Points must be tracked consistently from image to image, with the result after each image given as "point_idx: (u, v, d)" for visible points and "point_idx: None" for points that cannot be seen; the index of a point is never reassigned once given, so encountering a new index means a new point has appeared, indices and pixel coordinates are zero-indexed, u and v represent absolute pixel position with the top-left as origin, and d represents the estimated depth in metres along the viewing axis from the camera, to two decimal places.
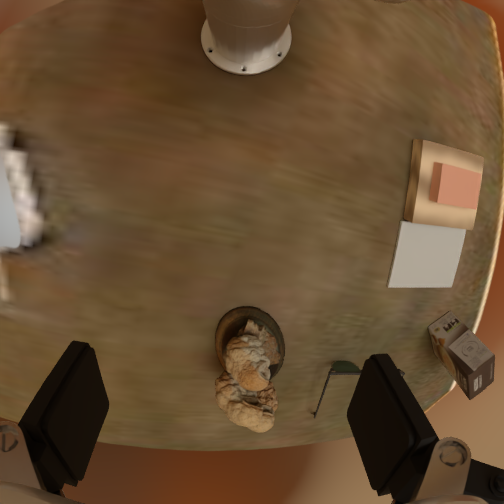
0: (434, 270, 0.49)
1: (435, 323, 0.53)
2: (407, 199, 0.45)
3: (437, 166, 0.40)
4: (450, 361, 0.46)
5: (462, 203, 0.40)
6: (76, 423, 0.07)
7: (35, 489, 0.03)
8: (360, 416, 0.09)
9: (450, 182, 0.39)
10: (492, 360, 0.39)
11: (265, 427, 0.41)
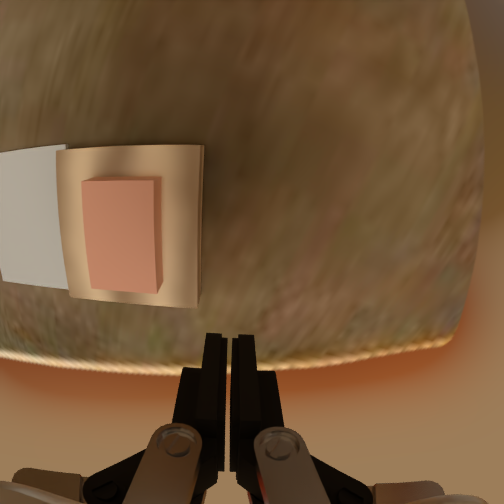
0: (13, 235, 0.27)
1: None
2: None
3: (150, 178, 0.22)
4: None
5: (92, 247, 0.23)
6: None
7: (35, 489, 0.03)
8: (230, 396, 0.10)
9: (121, 206, 0.22)
10: None
11: None
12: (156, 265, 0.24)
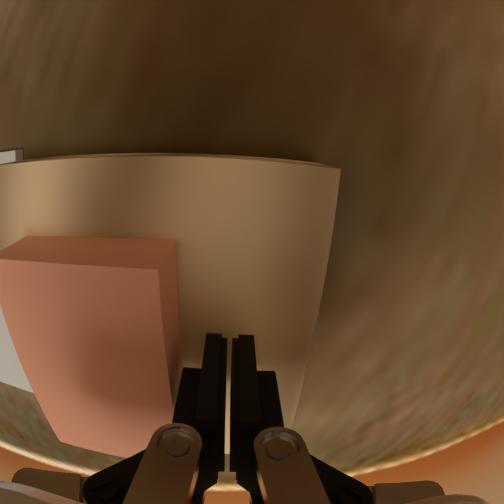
0: None
1: None
2: (78, 155, 0.11)
3: (147, 251, 0.09)
4: None
5: (42, 389, 0.09)
6: None
7: (35, 489, 0.03)
8: (230, 396, 0.10)
9: (81, 326, 0.08)
10: None
11: None
12: None
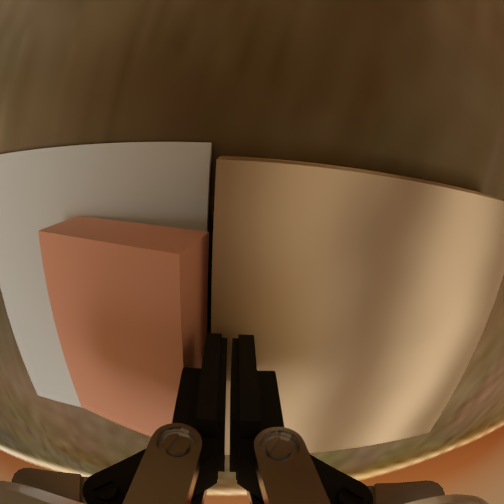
0: (54, 332, 0.14)
1: None
2: (304, 162, 0.12)
3: (178, 238, 0.10)
4: None
5: (71, 354, 0.11)
6: None
7: (35, 489, 0.03)
8: (230, 396, 0.10)
9: (111, 299, 0.09)
10: None
11: None
12: None
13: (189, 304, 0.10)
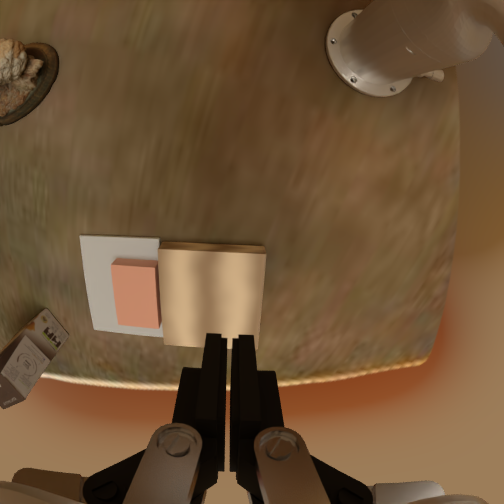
0: (107, 298, 0.41)
1: (51, 317, 0.42)
2: (186, 243, 0.39)
3: (152, 263, 0.38)
4: (10, 342, 0.34)
5: (118, 302, 0.39)
6: None
7: (35, 489, 0.03)
8: (230, 396, 0.10)
9: (136, 280, 0.38)
10: (18, 398, 0.29)
11: None
12: (158, 312, 0.40)
13: (156, 279, 0.39)
